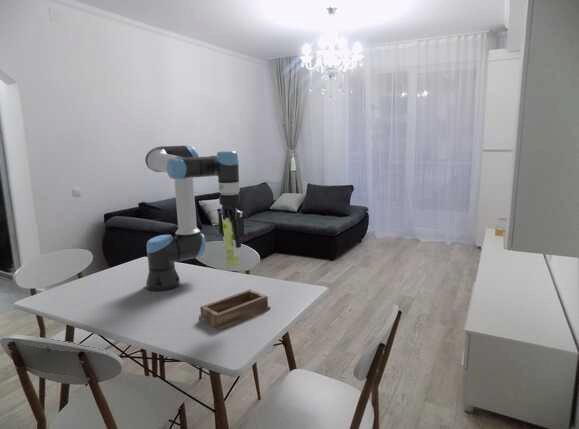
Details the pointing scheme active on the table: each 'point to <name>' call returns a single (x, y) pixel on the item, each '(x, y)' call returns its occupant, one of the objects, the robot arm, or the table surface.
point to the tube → (229, 243)
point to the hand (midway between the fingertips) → (232, 253)
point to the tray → (234, 309)
